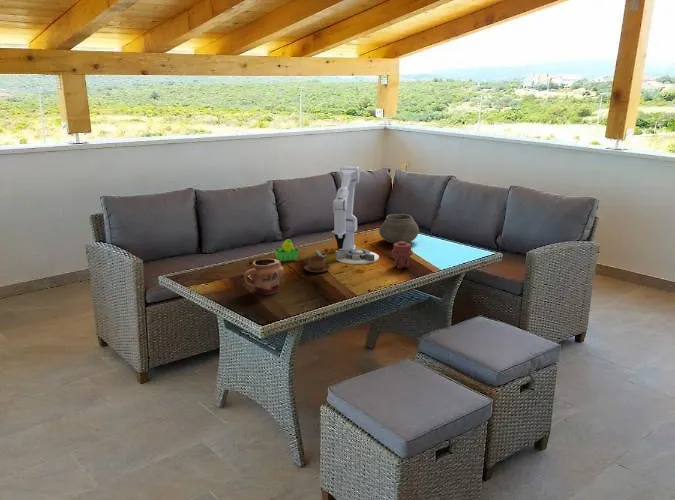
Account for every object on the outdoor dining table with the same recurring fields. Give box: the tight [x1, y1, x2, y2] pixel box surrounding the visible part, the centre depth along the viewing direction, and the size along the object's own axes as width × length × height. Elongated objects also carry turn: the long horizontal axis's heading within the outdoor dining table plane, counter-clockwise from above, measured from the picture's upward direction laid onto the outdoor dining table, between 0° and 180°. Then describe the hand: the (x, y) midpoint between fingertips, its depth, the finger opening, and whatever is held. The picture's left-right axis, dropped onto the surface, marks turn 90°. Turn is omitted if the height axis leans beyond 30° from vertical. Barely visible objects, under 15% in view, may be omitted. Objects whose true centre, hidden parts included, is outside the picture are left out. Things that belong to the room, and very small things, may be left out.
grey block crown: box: [335, 248, 371, 260], centre depth 309 cm, size 13×17×4 cm
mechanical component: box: [391, 241, 414, 269], centre depth 292 cm, size 12×10×10 cm
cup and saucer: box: [304, 255, 330, 274], centre depth 289 cm, size 12×12×6 cm
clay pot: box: [378, 213, 420, 244], centre depth 336 cm, size 22×21×15 cm
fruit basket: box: [273, 238, 300, 262], centre depth 305 cm, size 11×9×11 cm
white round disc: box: [335, 249, 380, 265], centre depth 309 cm, size 22×22×4 cm
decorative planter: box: [243, 258, 285, 296], centre depth 257 cm, size 20×12×14 cm, turn 139°
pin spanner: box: [315, 249, 327, 259], centre depth 315 cm, size 13×3×2 cm, turn 11°
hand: (340, 248), depth 310 cm, fingers closed
